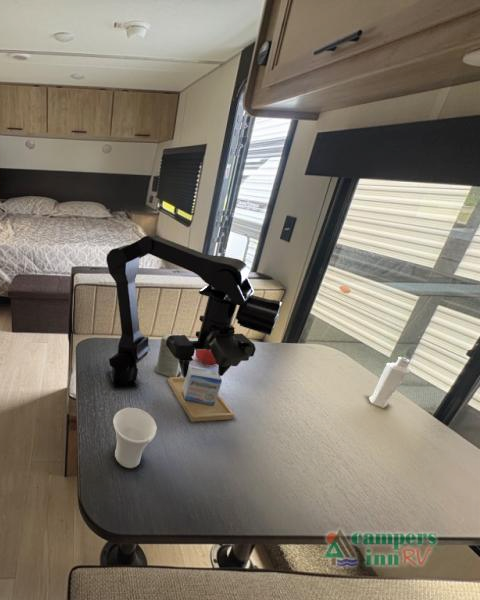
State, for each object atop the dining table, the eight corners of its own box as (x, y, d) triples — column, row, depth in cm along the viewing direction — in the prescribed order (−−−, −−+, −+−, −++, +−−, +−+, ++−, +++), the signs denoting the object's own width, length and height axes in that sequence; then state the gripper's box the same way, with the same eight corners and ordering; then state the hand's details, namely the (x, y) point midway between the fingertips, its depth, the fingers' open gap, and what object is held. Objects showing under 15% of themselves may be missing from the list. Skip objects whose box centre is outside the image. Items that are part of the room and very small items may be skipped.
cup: (122, 483, 60) (129, 448, 55) (101, 446, 67) (105, 412, 63) (159, 468, 63) (167, 434, 59) (134, 434, 71) (140, 401, 67)
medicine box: (183, 401, 81) (190, 375, 78) (182, 390, 85) (188, 364, 82) (214, 406, 80) (222, 380, 76) (211, 394, 84) (218, 369, 80)
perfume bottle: (388, 402, 86) (415, 359, 79) (388, 410, 83) (417, 366, 76) (367, 394, 88) (392, 351, 82) (366, 402, 85) (392, 358, 79)
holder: (191, 421, 75) (192, 416, 75) (167, 381, 89) (168, 377, 88) (232, 419, 77) (234, 414, 76) (203, 379, 90) (204, 375, 90)
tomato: (208, 354, 103) (213, 335, 100) (224, 368, 96) (230, 348, 93) (188, 356, 101) (193, 337, 98) (202, 371, 94) (208, 350, 91)
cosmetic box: (179, 372, 93) (187, 338, 88) (175, 379, 90) (183, 345, 85) (159, 364, 96) (166, 331, 91) (154, 371, 93) (161, 337, 88)
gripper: (195, 338, 56) (179, 402, 63) (284, 336, 59) (260, 397, 65) (171, 311, 66) (159, 369, 73) (248, 310, 69) (230, 366, 75)
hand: (202, 375), depth 71 cm, fingers open, 9 cm apart
